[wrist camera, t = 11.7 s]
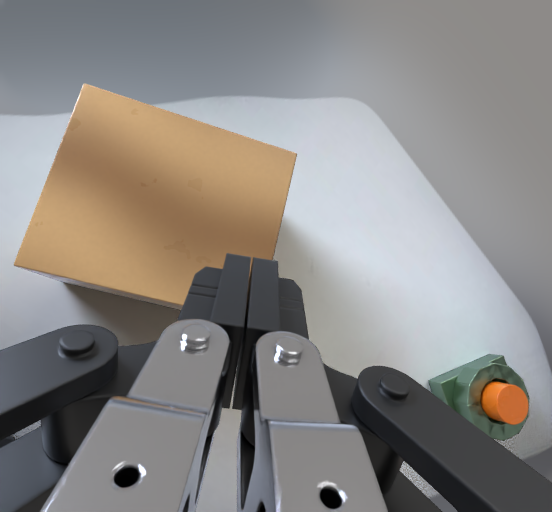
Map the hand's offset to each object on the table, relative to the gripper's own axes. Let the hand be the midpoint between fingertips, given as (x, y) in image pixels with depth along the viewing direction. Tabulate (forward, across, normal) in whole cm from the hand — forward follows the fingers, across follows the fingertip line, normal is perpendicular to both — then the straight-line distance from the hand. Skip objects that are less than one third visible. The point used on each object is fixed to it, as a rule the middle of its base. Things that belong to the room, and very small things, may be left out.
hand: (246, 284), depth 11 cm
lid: (+13, +5, +2) cm, 14 cm away
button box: (+16, -22, +17) cm, 32 cm away
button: (+14, -22, +15) cm, 30 cm away
